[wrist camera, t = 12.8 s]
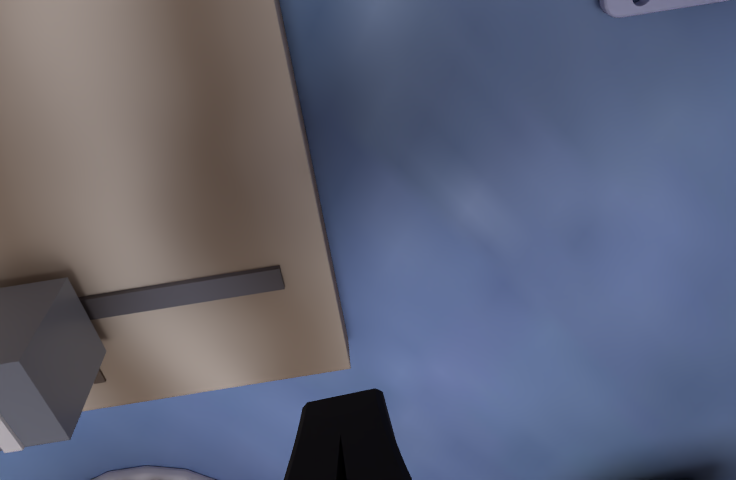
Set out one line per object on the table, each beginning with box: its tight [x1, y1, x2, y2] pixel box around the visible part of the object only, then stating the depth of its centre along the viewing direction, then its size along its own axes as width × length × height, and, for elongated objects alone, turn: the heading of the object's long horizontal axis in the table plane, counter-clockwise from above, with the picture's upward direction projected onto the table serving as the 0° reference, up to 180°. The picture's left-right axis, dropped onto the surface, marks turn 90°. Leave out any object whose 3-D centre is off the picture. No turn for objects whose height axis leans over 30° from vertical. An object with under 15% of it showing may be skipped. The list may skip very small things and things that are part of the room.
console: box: [0, 0, 351, 411], centre depth 16 cm, size 16×19×2 cm
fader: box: [0, 277, 106, 453], centre depth 16 cm, size 3×3×4 cm
